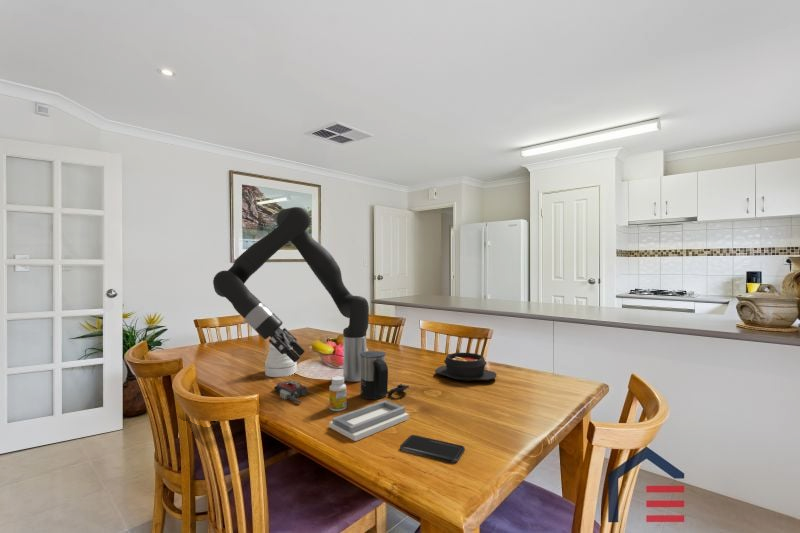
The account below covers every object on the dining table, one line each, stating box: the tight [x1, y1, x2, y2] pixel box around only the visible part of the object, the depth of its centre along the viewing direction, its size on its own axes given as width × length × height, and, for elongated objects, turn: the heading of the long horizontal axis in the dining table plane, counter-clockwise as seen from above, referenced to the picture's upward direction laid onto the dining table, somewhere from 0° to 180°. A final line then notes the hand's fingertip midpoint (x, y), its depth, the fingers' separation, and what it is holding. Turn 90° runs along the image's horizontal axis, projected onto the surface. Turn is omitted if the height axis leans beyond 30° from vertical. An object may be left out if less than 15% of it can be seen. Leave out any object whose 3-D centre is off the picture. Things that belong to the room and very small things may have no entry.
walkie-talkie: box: [273, 379, 308, 404], centre depth 135 cm, size 9×4×20 cm
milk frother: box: [359, 350, 410, 400], centre depth 135 cm, size 14×16×15 cm
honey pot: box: [264, 343, 298, 378], centre depth 163 cm, size 13×13×18 cm
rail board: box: [328, 399, 410, 442], centre depth 111 cm, size 20×12×3 cm, turn 134°
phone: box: [399, 434, 466, 464], centre depth 96 cm, size 8×1×15 cm
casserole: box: [434, 352, 498, 382], centre depth 155 cm, size 25×19×8 cm
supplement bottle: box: [328, 375, 348, 412], centre depth 123 cm, size 5×5×10 cm
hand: (300, 356), depth 122 cm, fingers open, 8 cm apart
